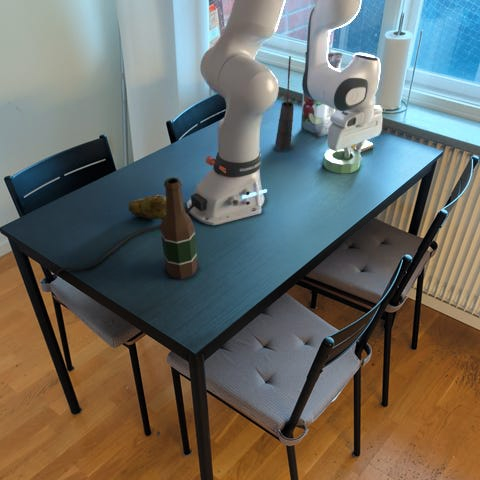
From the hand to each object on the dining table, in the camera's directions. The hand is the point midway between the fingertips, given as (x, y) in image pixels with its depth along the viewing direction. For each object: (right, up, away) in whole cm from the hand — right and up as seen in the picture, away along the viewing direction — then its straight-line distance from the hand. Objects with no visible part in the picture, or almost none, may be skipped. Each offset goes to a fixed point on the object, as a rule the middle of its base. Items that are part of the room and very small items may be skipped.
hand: (352, 155), depth 166 cm
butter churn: (-21, +4, +7) cm, 23 cm away
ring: (-4, -3, -1) cm, 5 cm away
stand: (+2, +6, +8) cm, 10 cm away
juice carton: (-9, +14, +17) cm, 24 cm away
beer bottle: (-50, -40, -38) cm, 74 cm away
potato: (-60, -24, -22) cm, 68 cm away
